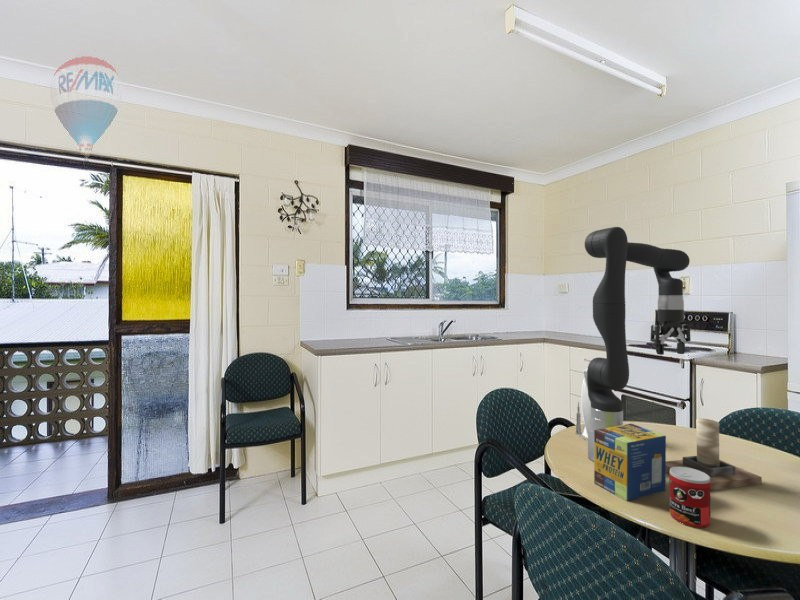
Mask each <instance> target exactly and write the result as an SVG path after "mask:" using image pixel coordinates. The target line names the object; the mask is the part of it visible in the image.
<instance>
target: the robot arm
mask: <svg viewBox="0 0 800 600" xmlns="http://www.w3.org/2000/svg"><path fill="white" fill-rule="evenodd" d="M584 249H585V252H586V253H587V254H588V255H589V256H591V257H592V258H596V259H605V269H604V270H605V271H604V274H603V277H602V278H601V281H600V282H599V284H598V286H597V288H596V290H595V291H594V293H593V296H592V320H593V322H594V324H595V327H596V329H597V331H598V333H599V334H600V336H601V338H602V340H603V343H604V346H605V352H606V358H605V357H594V358H592V359H591V360H590V361H589V363H588V366H587V368H588V369H587V368H586V369H587V385H588V397H589V399H590V402H591V429H589V430H588V440H587V458H588V459H589V460H591V461H592V462H594V430H598V429H604V428H609V427H615V426H621V425H624V402H623V401H622V399H620V398H619V397H618V396H617V395H616V394H615V393H614V392H613V390H615V391H621V390H624V388H626V386H627V385H628V383H629V379H630V366H629V365H630V364H629V359H628V358H629V357H628V349H627V337H626V270H627V267H626V266H627V262H630V263H633V264H638V265H641V266H645V267H649V268H652V269H653V272H654V274H655V278H656V281H657V284H658V297H657V298H658V299H657V321H658V322H659V324H651V326H650V342H653V343H655V353H656V354H657V355H661V356H663V355H664V354H665V345H664V343H665V342H666V340H668V339H669V338H673V339H675V340H676V342H677V343H676V353H677V354H678V355H679V354H680V355H684V354H685V351H686V348H685V347H686V343H689V342H691V339H692V338H691V325H690V324H684V323H683V322H685V308H684V307H685V304H684V303H685V301H684V300H685V299H684V295H683V294H684V283H683V282H684V281H683V280H682V279H680V278H676V277H672V275H671V273H670V272H681V271H684V270H686V269H687V268H688V267H689V265H690V262H691V261H690V257H689V255H688V254H687V253H686V252H685V251H683V250H680V249H676V248H675V249H672V248H663V247H662V248H661V247H658V246H656V245H651V244H648V243H647V244H646V243H642V242H641V243H640V242H630V241H629V242H628V235H627V233H626V230H624V229H623V228H622V227H620V226H613V227H607V228H602V229H598V230H594V231H592V232H590V233H589V234H588V235H586V237H585V240H584ZM682 323H683V324H682Z"/></svg>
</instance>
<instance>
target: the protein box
mask: <svg viewBox="0 0 800 600" xmlns="http://www.w3.org/2000/svg"><path fill="white" fill-rule="evenodd" d="M666 441H667V436H666V435H665V434H662V433H659V432H656V431H654V430H650V429H648V428H645V427H642V426H639V425H636V424H633V423H628V424H623V425H621V426H615V427H609V428H604V429H598V430H594V461H593V464H594V467H593V468H594V470H593V471H594V473H593V474H594V475H593V476H594V477H593V478H594V481H593V482H594V484H595V485H597V486H599V487H600V488H603V490H606V491H608V492H609V493H611V494H613V495H615V496H616V497H619V498H620V499H622V500H624V501H625V502H629V501H632V499H633V500H636V499H639V498H643V497H644V498H645V497H647V495H648V496H650V495H654V494H659V493H663V492H665V491H666V490H667V489H666V487H667V486H666V483H667V482H666V478H667V477H666V474H667V472H666V460H667V456H666V453H667V452H666V449H667V448H666V447H667V446H666V445H667V444H666V443H667V442H666Z"/></svg>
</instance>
